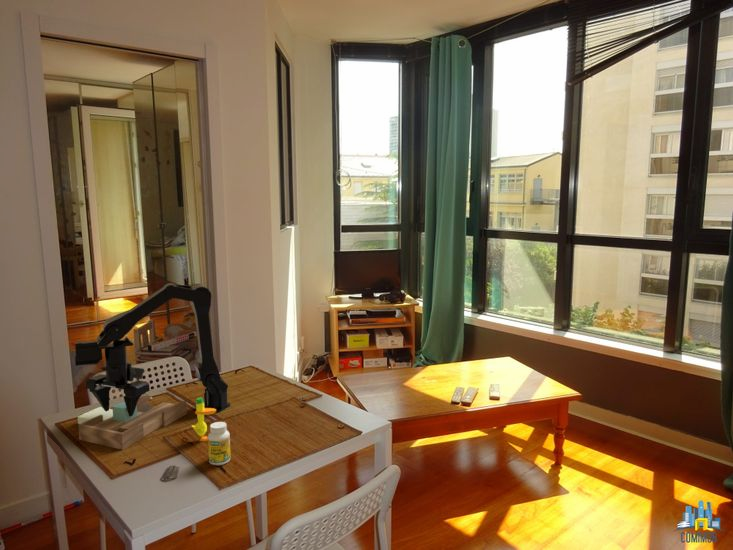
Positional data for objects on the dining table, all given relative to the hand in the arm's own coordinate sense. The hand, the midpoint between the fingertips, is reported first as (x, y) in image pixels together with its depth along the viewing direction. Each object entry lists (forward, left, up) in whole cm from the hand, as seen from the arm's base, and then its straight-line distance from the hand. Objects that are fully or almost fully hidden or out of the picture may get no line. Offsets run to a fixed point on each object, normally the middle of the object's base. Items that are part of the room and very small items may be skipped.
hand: (119, 413), depth 152 cm
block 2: (-33, +17, -4) cm, 37 cm away
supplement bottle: (-40, +7, -4) cm, 41 cm away
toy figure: (-29, -1, -4) cm, 29 cm away
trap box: (-5, -2, -4) cm, 6 cm away
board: (+7, 0, -4) cm, 8 cm away
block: (-2, 0, -1) cm, 2 cm away
